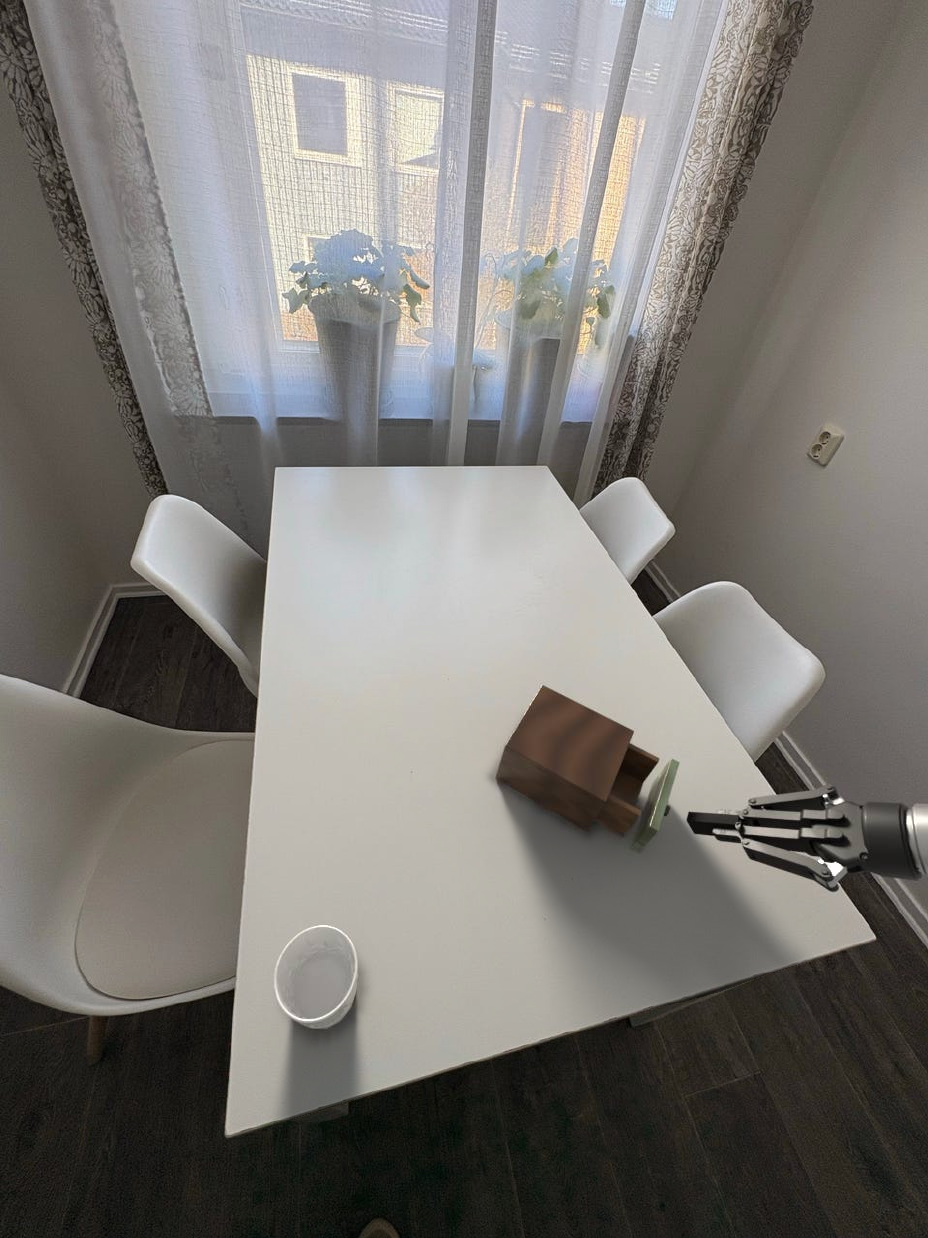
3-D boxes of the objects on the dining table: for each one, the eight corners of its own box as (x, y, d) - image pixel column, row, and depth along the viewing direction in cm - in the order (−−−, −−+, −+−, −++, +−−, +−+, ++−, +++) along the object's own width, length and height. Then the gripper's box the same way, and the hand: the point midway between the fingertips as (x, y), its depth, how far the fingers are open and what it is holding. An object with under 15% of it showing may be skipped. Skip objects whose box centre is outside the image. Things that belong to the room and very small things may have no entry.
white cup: (280, 1036, 54) (263, 1022, 47) (297, 948, 59) (284, 924, 52) (356, 1037, 54) (350, 1023, 47) (366, 950, 60) (362, 926, 53)
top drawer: (668, 791, 77) (688, 766, 72) (647, 858, 70) (668, 836, 64) (577, 743, 82) (590, 716, 76) (548, 801, 74) (560, 776, 69)
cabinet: (614, 763, 81) (634, 730, 74) (586, 831, 72) (606, 802, 66) (530, 718, 85) (542, 684, 79) (495, 778, 77) (504, 745, 70)
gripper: (931, 924, 50) (692, 883, 67) (922, 815, 58) (711, 803, 75) (910, 874, 48) (668, 845, 65) (903, 768, 56) (690, 767, 73)
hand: (691, 822), depth 70 cm, fingers closed
